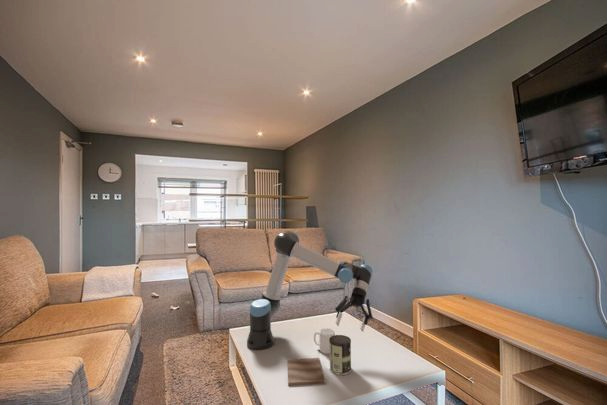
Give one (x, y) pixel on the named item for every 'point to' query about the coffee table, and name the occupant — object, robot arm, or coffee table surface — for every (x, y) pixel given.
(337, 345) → the coffee can
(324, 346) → the cup
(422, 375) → the coffee table surface
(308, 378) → the walnut board
